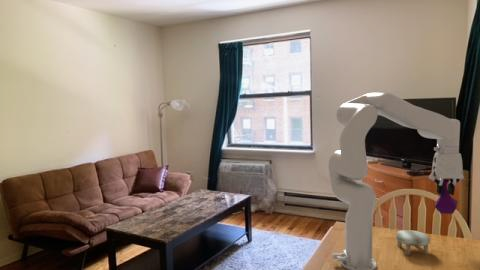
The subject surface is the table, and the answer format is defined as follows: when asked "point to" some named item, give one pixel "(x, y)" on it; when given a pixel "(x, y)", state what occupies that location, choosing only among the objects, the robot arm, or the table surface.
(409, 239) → the stool
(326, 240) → the table surface
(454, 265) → the table surface
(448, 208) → the perfume bottle
